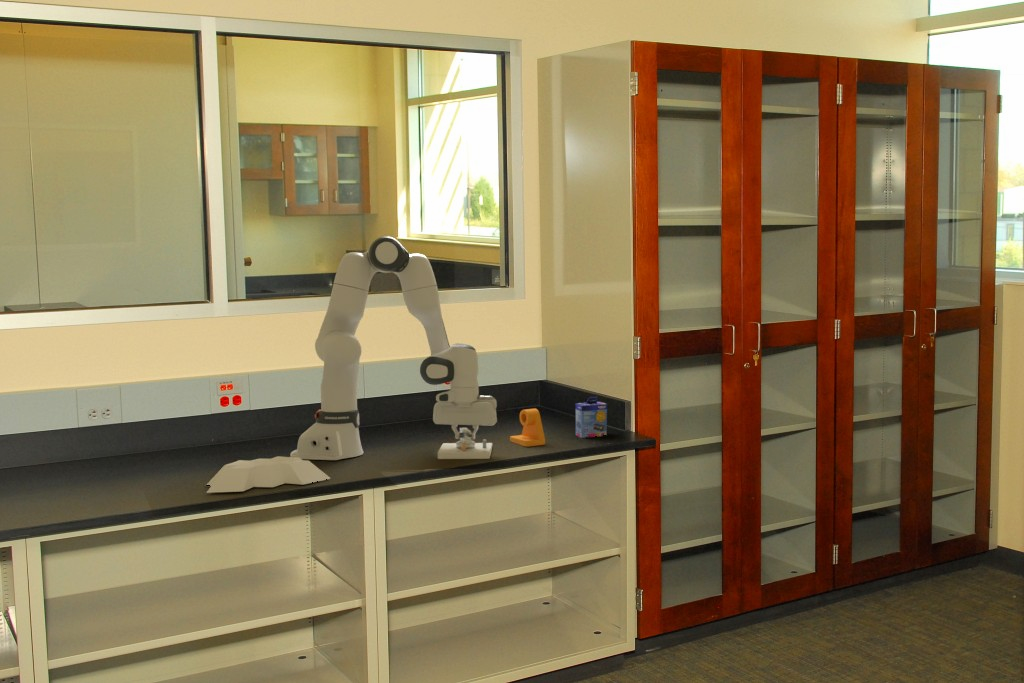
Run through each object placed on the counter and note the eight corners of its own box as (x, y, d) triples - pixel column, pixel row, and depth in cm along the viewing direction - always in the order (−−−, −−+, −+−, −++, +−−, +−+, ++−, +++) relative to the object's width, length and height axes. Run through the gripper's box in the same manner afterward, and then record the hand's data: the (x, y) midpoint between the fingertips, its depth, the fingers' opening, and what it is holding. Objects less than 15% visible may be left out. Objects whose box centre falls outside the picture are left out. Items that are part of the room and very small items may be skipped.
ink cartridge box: (582, 441, 344) (581, 398, 342) (574, 438, 349) (574, 396, 347) (608, 438, 348) (607, 396, 346) (600, 436, 353) (599, 394, 351)
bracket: (508, 444, 340) (508, 408, 339) (527, 442, 344) (526, 406, 343) (526, 449, 331) (525, 412, 330) (545, 446, 335) (544, 410, 334)
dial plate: (437, 459, 316) (437, 444, 316) (443, 449, 332) (442, 435, 332) (489, 458, 316) (489, 444, 315) (492, 449, 332) (492, 435, 331)
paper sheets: (314, 468, 308) (314, 450, 308) (334, 480, 290) (334, 461, 290) (194, 481, 292) (194, 462, 292) (208, 495, 274) (207, 475, 274)
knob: (453, 445, 326) (453, 428, 326) (472, 444, 328) (471, 427, 328) (461, 450, 317) (460, 433, 316) (479, 449, 319) (479, 432, 318)
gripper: (499, 394, 324) (499, 438, 325) (437, 393, 328) (437, 436, 329) (494, 397, 317) (494, 441, 319) (431, 395, 322) (431, 439, 323)
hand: (465, 438), depth 324 cm, fingers closed on knob, 3 cm apart
